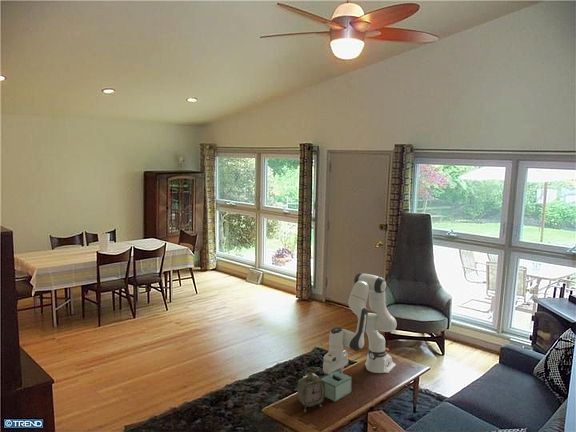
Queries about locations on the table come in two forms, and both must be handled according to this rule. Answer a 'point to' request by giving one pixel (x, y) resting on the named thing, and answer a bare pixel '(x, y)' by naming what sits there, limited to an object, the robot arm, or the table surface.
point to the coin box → (337, 386)
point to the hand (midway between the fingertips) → (335, 375)
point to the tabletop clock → (311, 390)
